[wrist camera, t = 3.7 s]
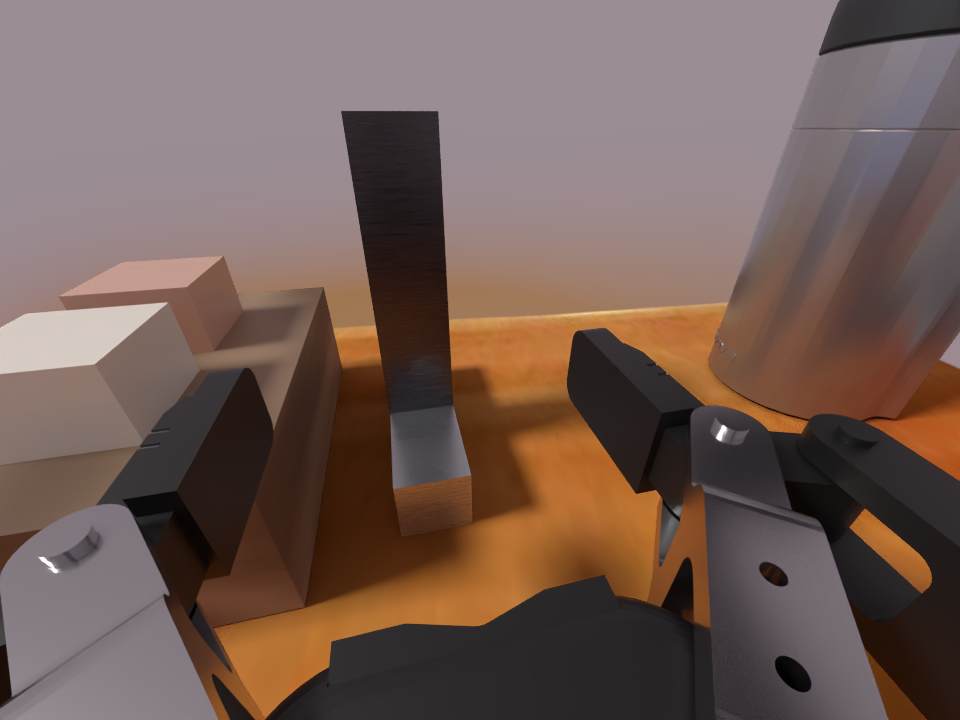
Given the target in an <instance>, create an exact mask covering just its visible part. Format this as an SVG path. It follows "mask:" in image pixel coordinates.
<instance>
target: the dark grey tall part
mask: <svg viewBox="0 0 960 720" xmlns="http://www.w3.org/2000/svg"><path fill="white" fill-rule="evenodd" d="M341 113H342V119H343V125H344V132H345V138H346V143H347V150H348V156H349V162H350V169H351V175H352V181H353V186H354V193H355V199H356V205H357V212H358V218H359V224H360V230H361V236H362V242H363V249H364V255H365V261H366V267H367V273H368V279H369V285H370V292H371V298H372V304H373V310H374V316H375V323H376V329H377V335H378V341H379V347H380V353H381V359H382V366H383V372H384V378H385V384H386V390H387V396H388V403H389V409H390V419H391V447H392V475H393V492H394V497H395V503H396V508H397V514H398V519H399V525H400V530H401V536H402V537H406V536H411V535H416V534H421V533H426V532H431V531H436V530H441V529H446V528H451V527H456V526H461V525H466V524H471V523H472V480H471V472H470V468H469V464H468V460H467V457H466V453H465V449H464V445H463V441H462V437H461V434H460V430H459V426H458V422H457V418H456V414H455V411H454V407H453V394H452V374H451V355H450V335H449V316H448V299H447V298H448V296H447V277H446V257H445V237H444V217H443V198H442V178H441V159H440V141H439V140H440V139H439V119H438V111H342V112H341Z"/></svg>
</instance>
